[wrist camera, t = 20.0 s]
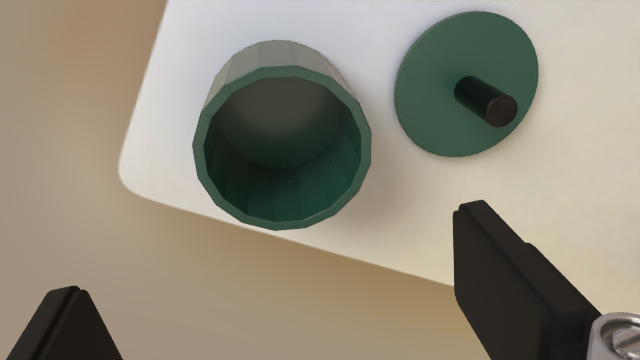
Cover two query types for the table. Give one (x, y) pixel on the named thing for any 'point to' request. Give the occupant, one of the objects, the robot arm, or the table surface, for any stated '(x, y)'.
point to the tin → (281, 138)
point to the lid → (466, 83)
